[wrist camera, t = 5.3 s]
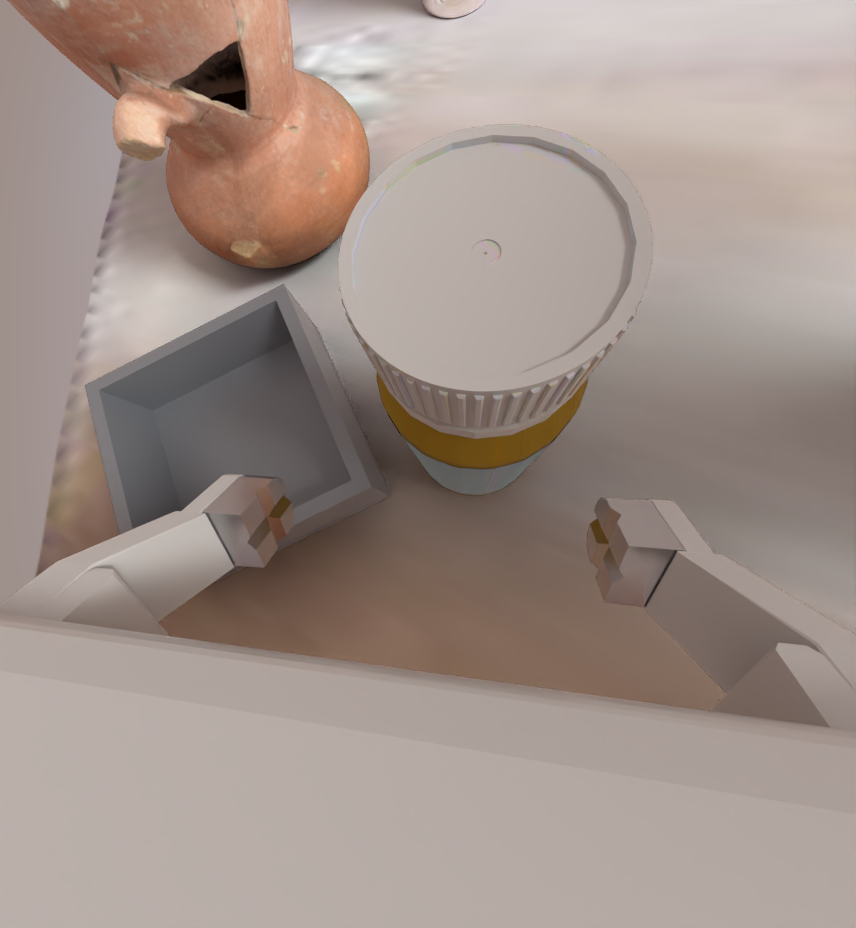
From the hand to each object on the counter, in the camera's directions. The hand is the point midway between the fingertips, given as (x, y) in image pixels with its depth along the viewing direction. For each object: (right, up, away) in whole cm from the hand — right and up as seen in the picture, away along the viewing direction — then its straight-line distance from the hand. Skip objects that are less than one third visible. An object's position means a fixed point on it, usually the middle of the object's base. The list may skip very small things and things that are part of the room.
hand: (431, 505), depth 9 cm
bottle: (+3, +2, +13) cm, 13 cm away
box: (-11, +2, +14) cm, 18 cm away
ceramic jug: (-11, +22, +18) cm, 30 cm away
